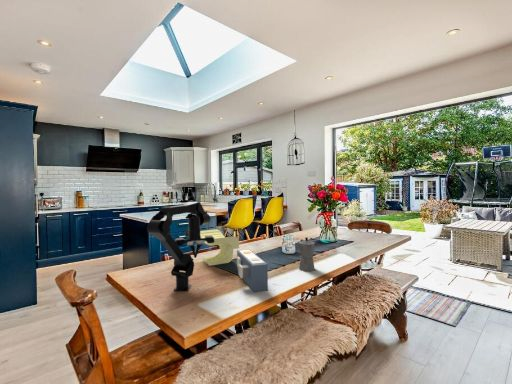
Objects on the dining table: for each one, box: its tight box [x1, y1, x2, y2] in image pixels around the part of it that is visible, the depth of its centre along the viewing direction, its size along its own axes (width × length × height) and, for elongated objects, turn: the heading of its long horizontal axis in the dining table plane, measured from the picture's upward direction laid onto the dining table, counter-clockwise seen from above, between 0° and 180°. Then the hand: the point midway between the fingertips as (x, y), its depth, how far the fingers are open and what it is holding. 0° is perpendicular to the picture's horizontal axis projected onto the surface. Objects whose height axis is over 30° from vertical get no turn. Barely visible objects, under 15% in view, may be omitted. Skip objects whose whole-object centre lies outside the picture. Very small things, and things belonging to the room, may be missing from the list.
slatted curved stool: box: [200, 229, 240, 267], centre depth 170 cm, size 30×16×18 cm, turn 29°
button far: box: [236, 255, 242, 268], centre depth 142 cm, size 6×5×5 cm
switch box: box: [236, 249, 269, 293], centre depth 135 cm, size 7×30×12 cm, turn 18°
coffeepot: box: [298, 236, 316, 272], centre depth 153 cm, size 15×9×18 cm, turn 12°
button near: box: [238, 264, 250, 279], centre depth 127 cm, size 6×5×5 cm
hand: (195, 257), depth 135 cm, fingers closed
